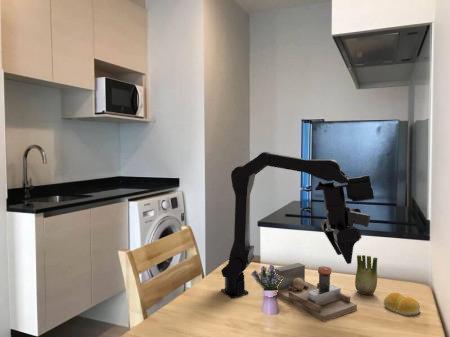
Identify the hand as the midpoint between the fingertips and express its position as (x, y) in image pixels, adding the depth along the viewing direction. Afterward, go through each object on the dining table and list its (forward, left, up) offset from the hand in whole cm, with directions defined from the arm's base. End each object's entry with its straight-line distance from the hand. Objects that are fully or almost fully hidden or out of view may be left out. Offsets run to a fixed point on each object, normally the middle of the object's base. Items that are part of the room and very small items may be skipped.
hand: (344, 258), depth 103 cm
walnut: (-14, -4, -11) cm, 18 cm away
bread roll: (+9, +14, -15) cm, 22 cm away
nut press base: (-7, -4, -14) cm, 16 cm away
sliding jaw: (-3, -4, -12) cm, 13 cm away
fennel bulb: (-3, +14, -14) cm, 20 cm away
